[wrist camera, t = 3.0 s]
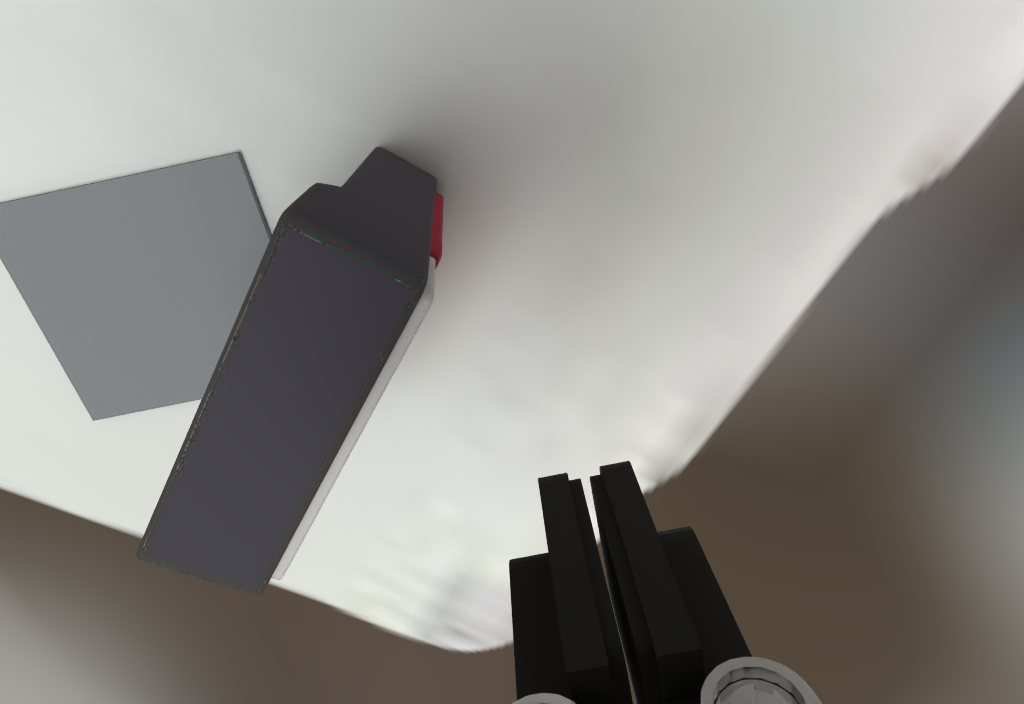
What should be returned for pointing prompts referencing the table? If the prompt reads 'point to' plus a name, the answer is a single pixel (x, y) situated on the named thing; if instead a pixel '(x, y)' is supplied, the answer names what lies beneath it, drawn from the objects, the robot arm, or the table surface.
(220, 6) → the table surface
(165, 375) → the mat
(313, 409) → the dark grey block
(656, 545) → the robot arm
